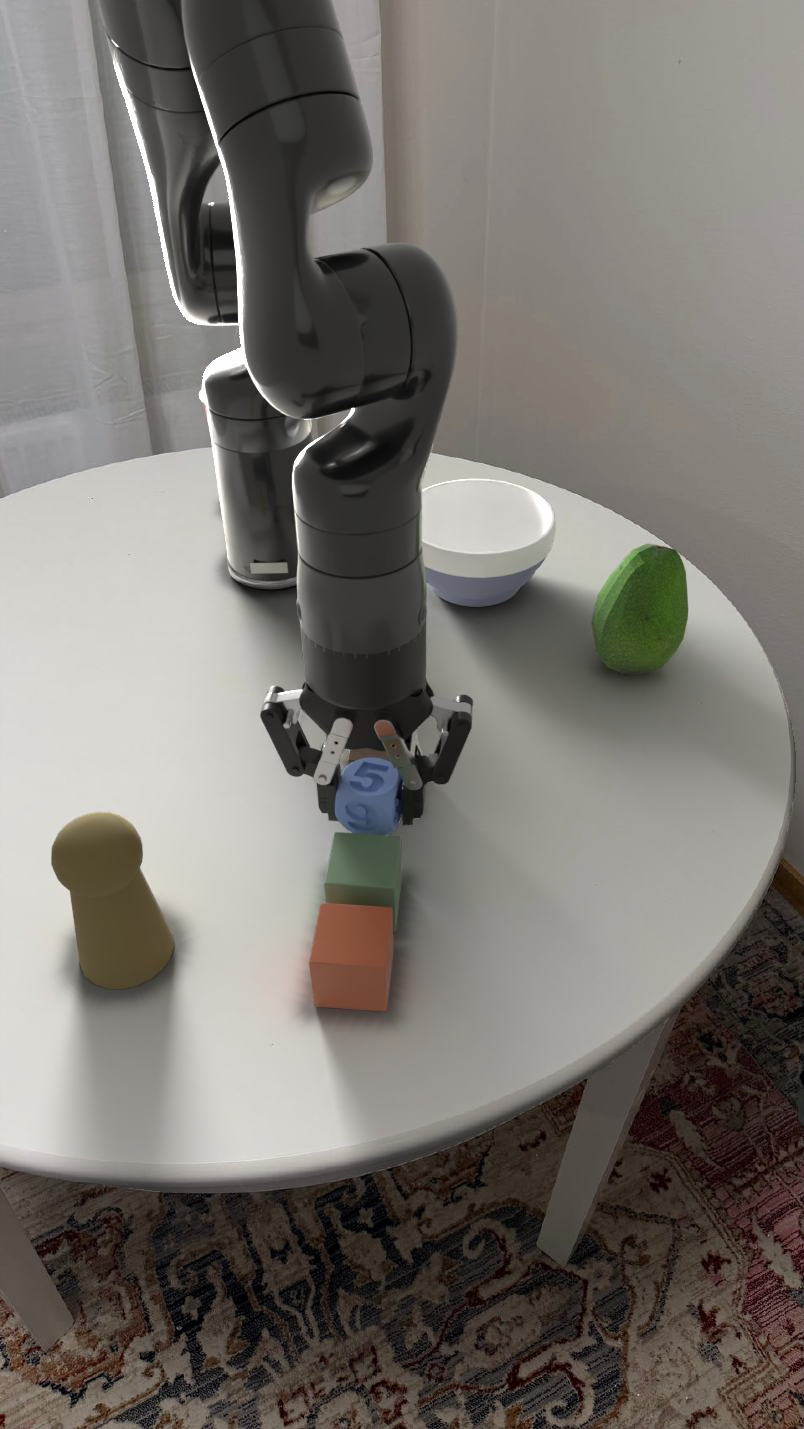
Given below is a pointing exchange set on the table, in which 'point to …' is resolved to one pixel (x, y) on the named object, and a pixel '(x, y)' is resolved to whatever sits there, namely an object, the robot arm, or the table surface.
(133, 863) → the tan ball-topped figurine
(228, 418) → the robot arm
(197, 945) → the table surface
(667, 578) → the avocado
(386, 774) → the decorative dice
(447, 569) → the bowl
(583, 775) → the table surface
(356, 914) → the terracotta block
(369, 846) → the sage block
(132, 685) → the table surface
